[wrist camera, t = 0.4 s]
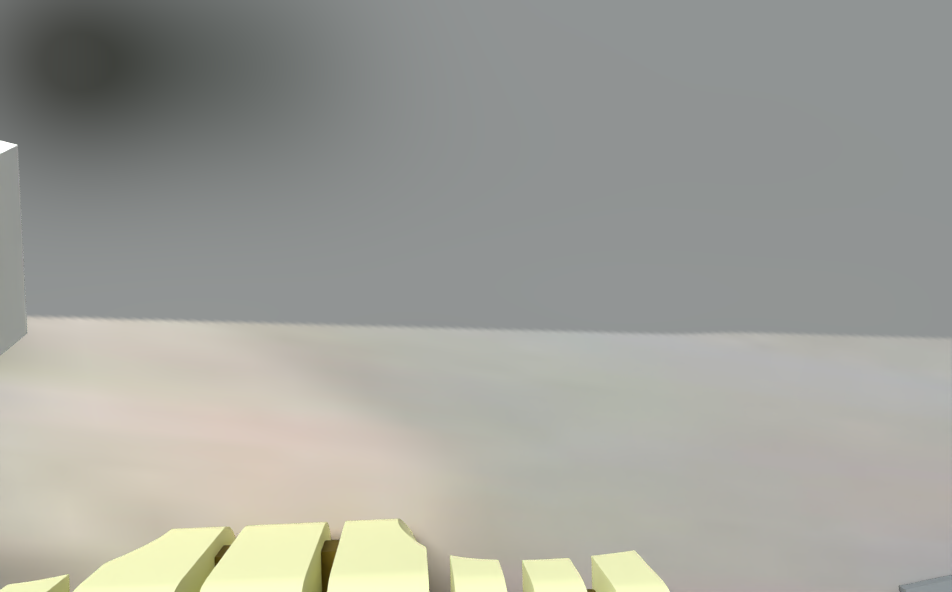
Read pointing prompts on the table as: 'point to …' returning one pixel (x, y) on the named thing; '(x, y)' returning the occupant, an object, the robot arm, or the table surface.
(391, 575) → the slatted curved stool
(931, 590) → the mat
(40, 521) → the table surface
